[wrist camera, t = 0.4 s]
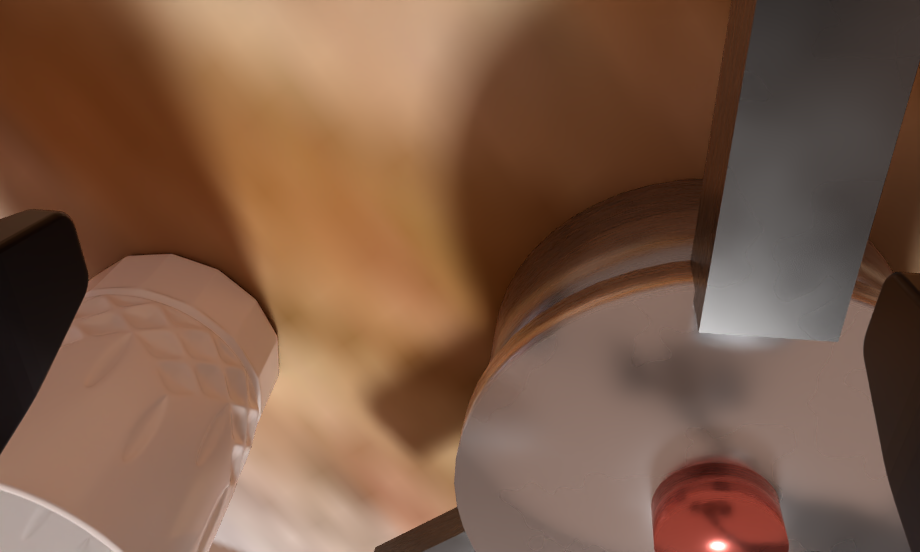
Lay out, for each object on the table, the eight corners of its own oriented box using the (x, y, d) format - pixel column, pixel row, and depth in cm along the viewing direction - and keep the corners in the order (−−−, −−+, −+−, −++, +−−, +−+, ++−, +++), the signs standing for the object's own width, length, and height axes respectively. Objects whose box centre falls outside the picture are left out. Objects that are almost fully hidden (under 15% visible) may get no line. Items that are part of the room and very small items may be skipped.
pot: (1194, 310, 22) (1317, 427, 18) (519, 591, 32) (508, 703, 28) (1000, -60, 18) (1106, -9, 14) (298, 395, 28) (253, 494, 24)
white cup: (182, 452, 31) (26, 717, 22) (22, 296, 28) (-228, 536, 19) (346, 377, 27) (236, 652, 19) (186, 192, 24) (-28, 423, 16)
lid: (904, 651, 24) (932, 734, 22) (464, 601, 25) (452, 674, 23) (1302, -213, 12) (1440, -205, 10) (448, -204, 14) (422, -195, 12)
